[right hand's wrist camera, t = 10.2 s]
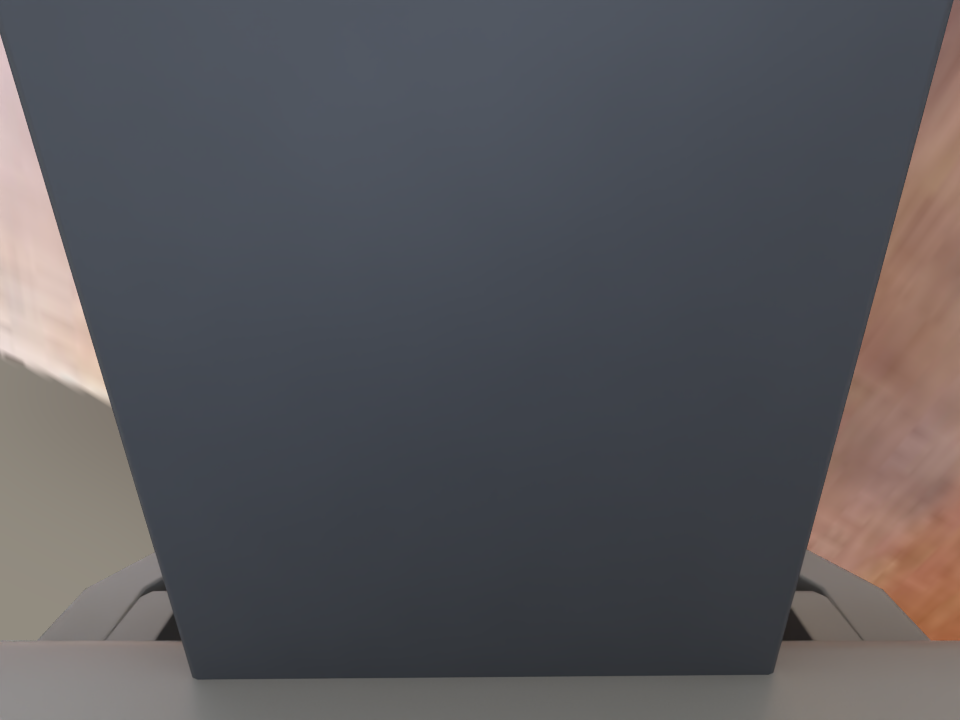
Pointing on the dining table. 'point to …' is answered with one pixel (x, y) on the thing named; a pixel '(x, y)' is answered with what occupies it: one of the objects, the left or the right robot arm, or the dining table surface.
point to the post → (476, 310)
